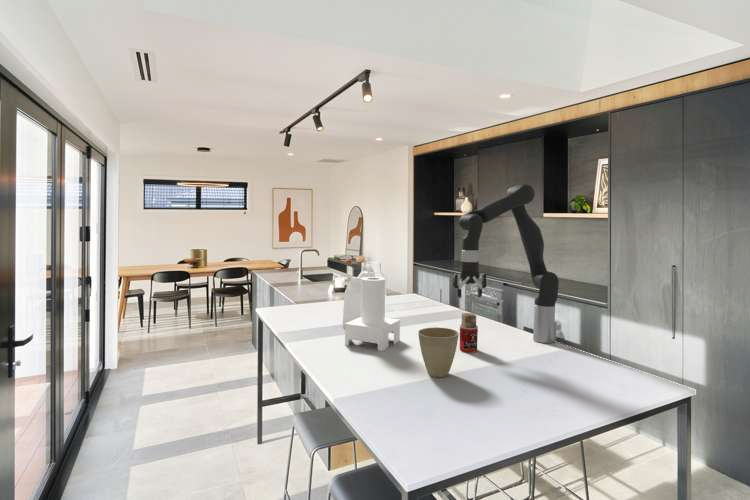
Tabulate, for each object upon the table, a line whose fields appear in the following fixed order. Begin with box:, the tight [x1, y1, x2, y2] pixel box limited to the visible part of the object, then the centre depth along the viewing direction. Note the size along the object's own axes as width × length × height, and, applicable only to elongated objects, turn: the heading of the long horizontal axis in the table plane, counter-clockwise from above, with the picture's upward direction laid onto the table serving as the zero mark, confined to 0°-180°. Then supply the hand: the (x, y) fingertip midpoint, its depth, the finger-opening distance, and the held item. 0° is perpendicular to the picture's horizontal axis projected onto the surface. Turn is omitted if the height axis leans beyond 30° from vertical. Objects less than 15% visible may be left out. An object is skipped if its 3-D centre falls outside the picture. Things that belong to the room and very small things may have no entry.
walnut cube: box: [461, 312, 477, 327], centre depth 195 cm, size 5×5×5 cm
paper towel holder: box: [344, 276, 401, 352], centre depth 205 cm, size 19×19×30 cm
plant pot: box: [417, 326, 460, 378], centre depth 166 cm, size 15×15×16 cm
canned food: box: [459, 323, 479, 354], centre depth 196 cm, size 8×8×11 cm
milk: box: [342, 276, 362, 329], centre depth 237 cm, size 12×12×26 cm
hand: (469, 297), depth 194 cm, fingers open, 8 cm apart
